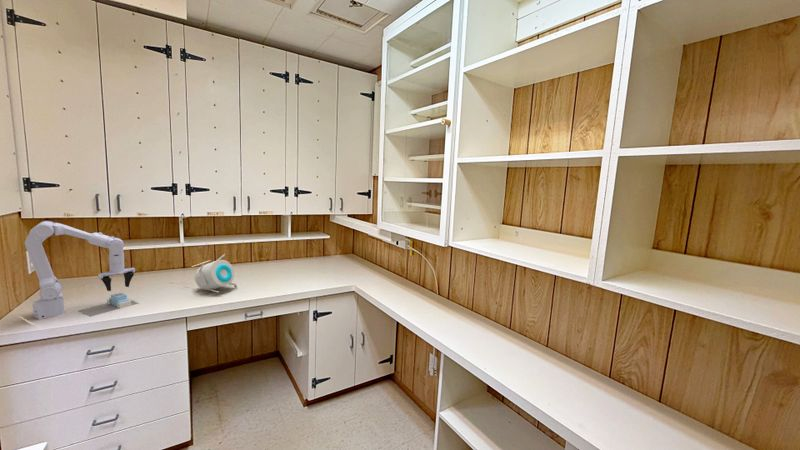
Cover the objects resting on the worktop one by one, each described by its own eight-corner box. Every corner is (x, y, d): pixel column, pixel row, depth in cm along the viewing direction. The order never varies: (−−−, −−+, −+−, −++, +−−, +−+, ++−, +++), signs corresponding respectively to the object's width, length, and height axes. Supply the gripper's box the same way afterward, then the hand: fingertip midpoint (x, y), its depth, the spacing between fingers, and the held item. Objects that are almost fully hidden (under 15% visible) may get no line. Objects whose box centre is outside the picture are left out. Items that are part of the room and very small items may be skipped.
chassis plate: (90, 318, 152) (89, 311, 152) (77, 312, 157) (76, 305, 157) (139, 305, 170) (139, 298, 170) (126, 300, 175) (126, 293, 175)
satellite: (210, 256, 210) (174, 268, 187) (233, 248, 204) (199, 259, 180) (224, 288, 212) (190, 305, 189) (247, 281, 206) (214, 297, 182)
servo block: (119, 307, 163) (119, 297, 162) (109, 303, 167) (108, 292, 167) (129, 305, 167) (128, 294, 166) (118, 301, 171) (118, 290, 170)
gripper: (103, 266, 156) (104, 294, 158) (138, 260, 169) (139, 286, 171) (95, 264, 159) (97, 291, 161) (130, 258, 172) (131, 283, 174)
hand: (118, 288), depth 166 cm, fingers open, 7 cm apart
